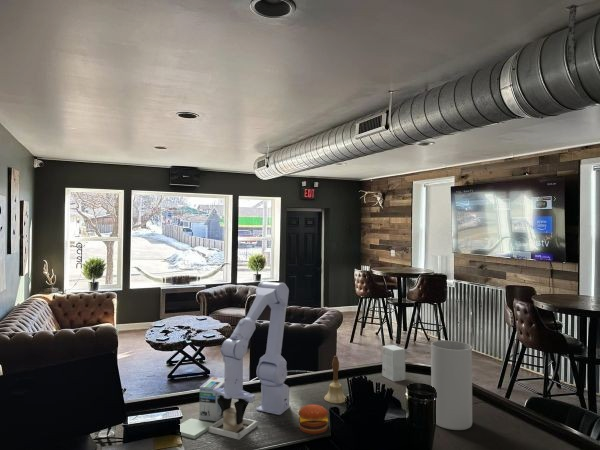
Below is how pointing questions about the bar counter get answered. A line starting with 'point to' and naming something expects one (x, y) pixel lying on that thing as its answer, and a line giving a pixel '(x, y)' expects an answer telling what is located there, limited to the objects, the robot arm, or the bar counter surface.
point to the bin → (230, 434)
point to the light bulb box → (210, 400)
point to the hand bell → (335, 386)
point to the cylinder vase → (452, 383)
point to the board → (194, 428)
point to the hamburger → (313, 419)
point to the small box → (393, 362)
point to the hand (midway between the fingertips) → (233, 421)
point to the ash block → (231, 420)
